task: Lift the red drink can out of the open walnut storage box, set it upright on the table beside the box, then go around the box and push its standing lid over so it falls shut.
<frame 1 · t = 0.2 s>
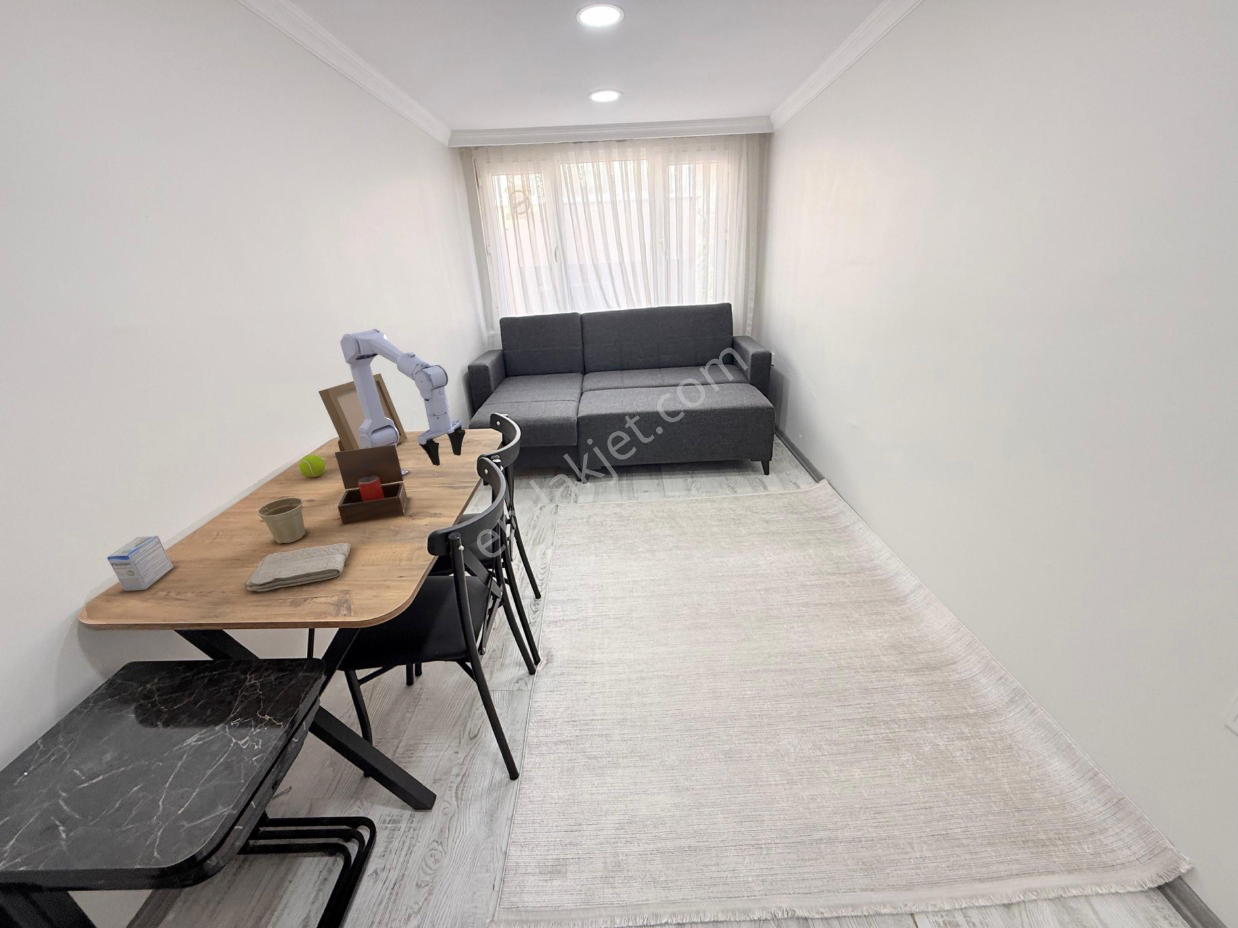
hand: (447, 459, 136), 10 cm above the table, tool pointing down, fingers open, 7 cm apart
can: (376, 508, 131), point 1 cm above the table, touching storage box
tennis ball: (315, 476, 155), on the table
lid: (370, 466, 131), point 11 cm above the table, hinge at 92.0°
storage box: (376, 511, 131), on the table
washcloth: (303, 571, 107), on the table
flower pot: (291, 538, 121), on the table
photo frame: (369, 450, 174), on the table
medicine box: (150, 580, 107), on the table
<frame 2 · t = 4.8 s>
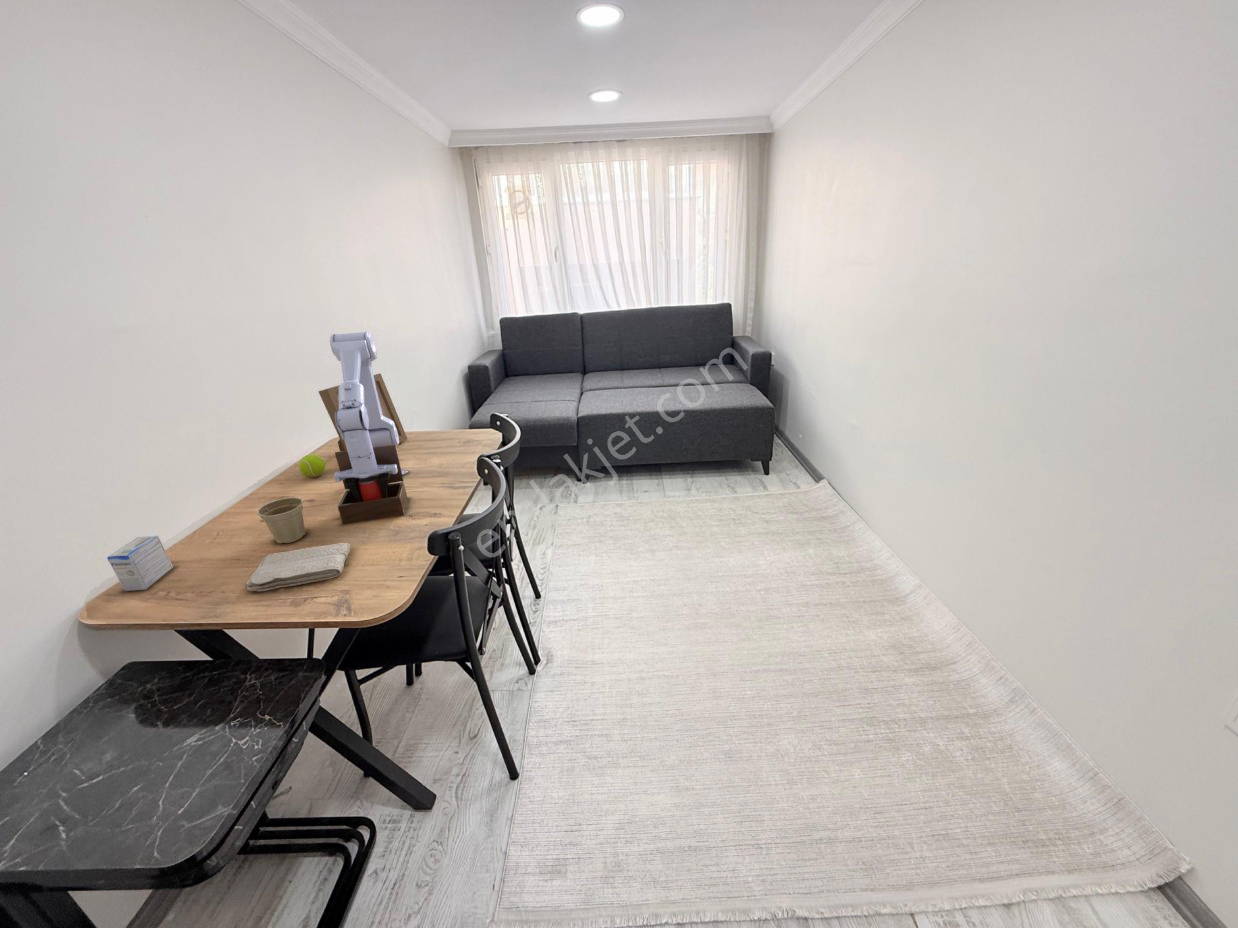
hand: (374, 501, 130), 3 cm above the table, tool pointing down, fingers closed on can, 5 cm apart
can: (376, 508, 131), point 1 cm above the table, touching gripper, storage box
everything else where it was.
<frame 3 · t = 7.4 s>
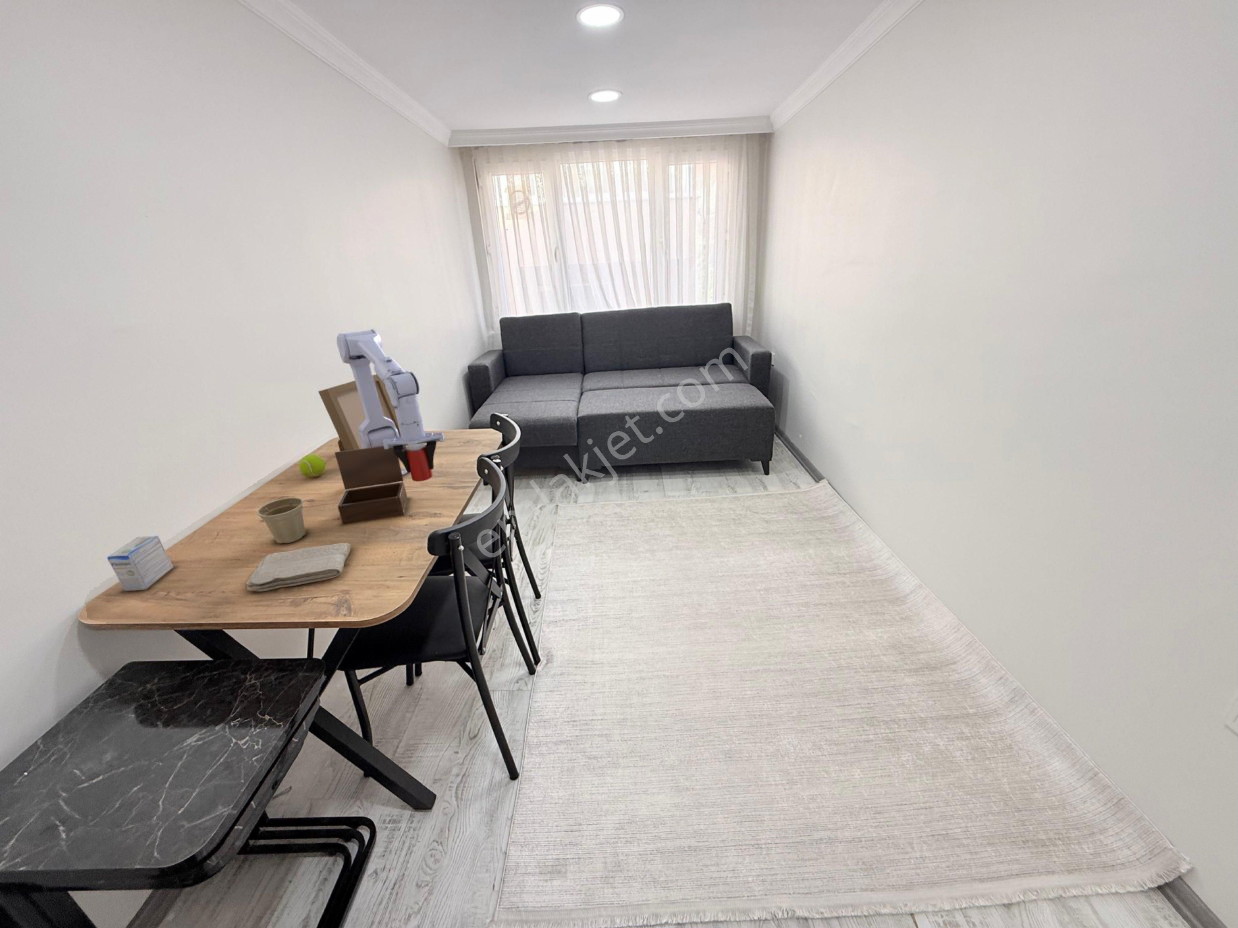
hand: (420, 469, 131), 10 cm above the table, tool pointing down, fingers closed on can, 5 cm apart
can: (422, 477, 132), point 8 cm above the table, touching gripper
everything else where it was.
when the fingers open (2 cm above the table, at t = 10.1 s): can stays where it is, on the table.
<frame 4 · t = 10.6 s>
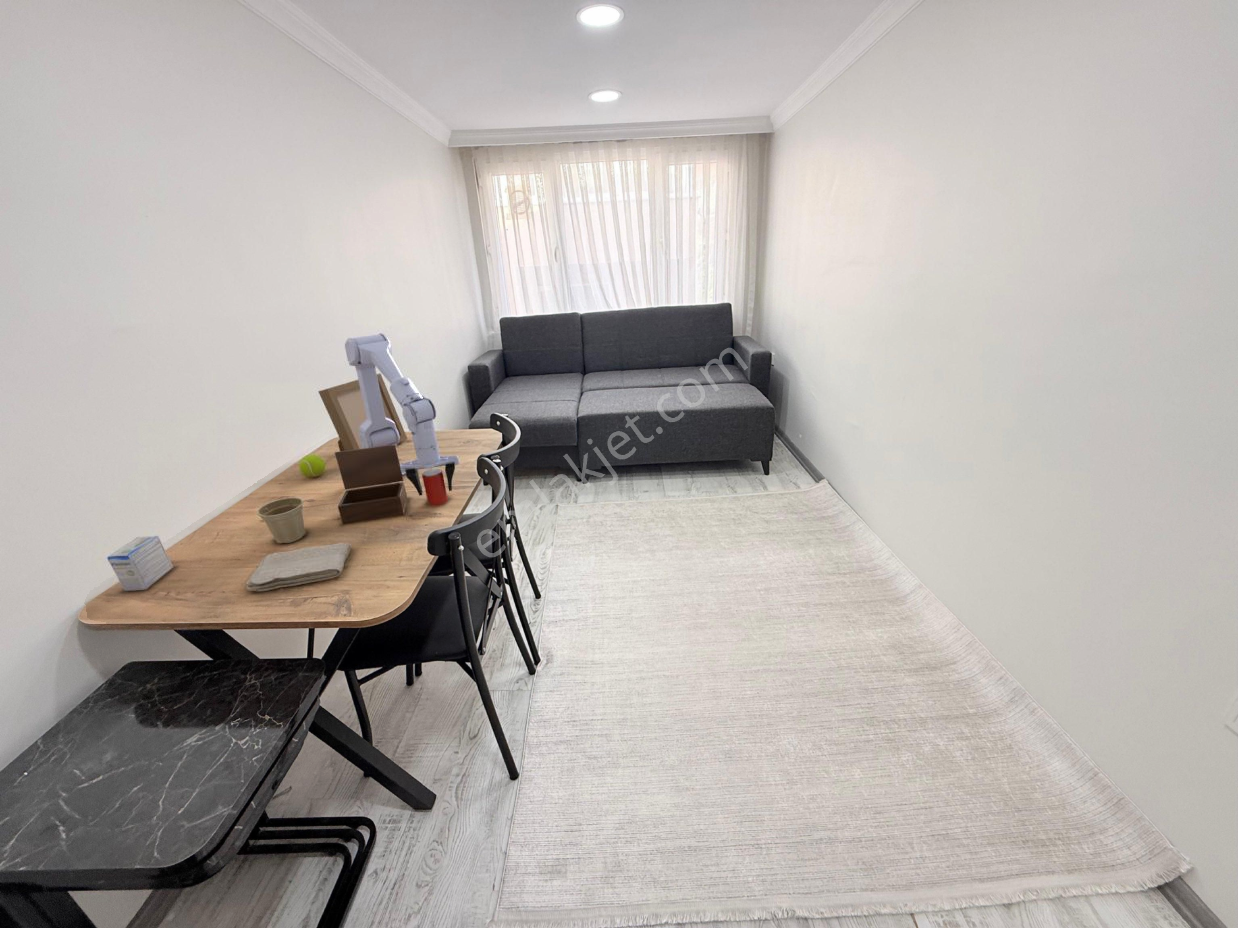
hand: (435, 491, 134), 3 cm above the table, tool pointing down, fingers open, 7 cm apart
can: (438, 501, 135), on the table
everything else where it was.
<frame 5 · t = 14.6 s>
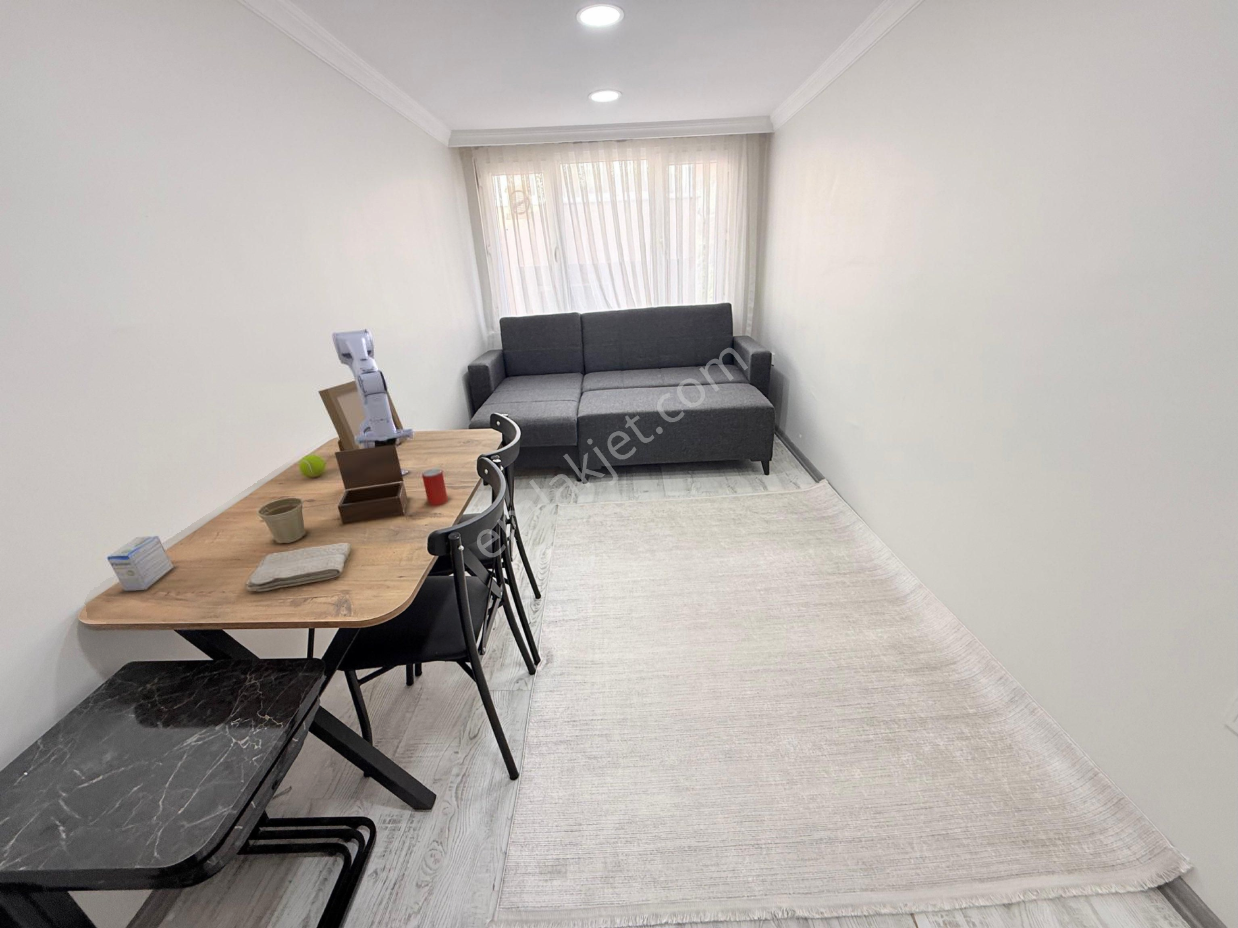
hand: (391, 464, 136), 9 cm above the table, tool pointing down, fingers closed, pressing on lid
lid: (370, 466, 131), point 11 cm above the table, hinge at 92.0°, touching gripper
everything else where it was.
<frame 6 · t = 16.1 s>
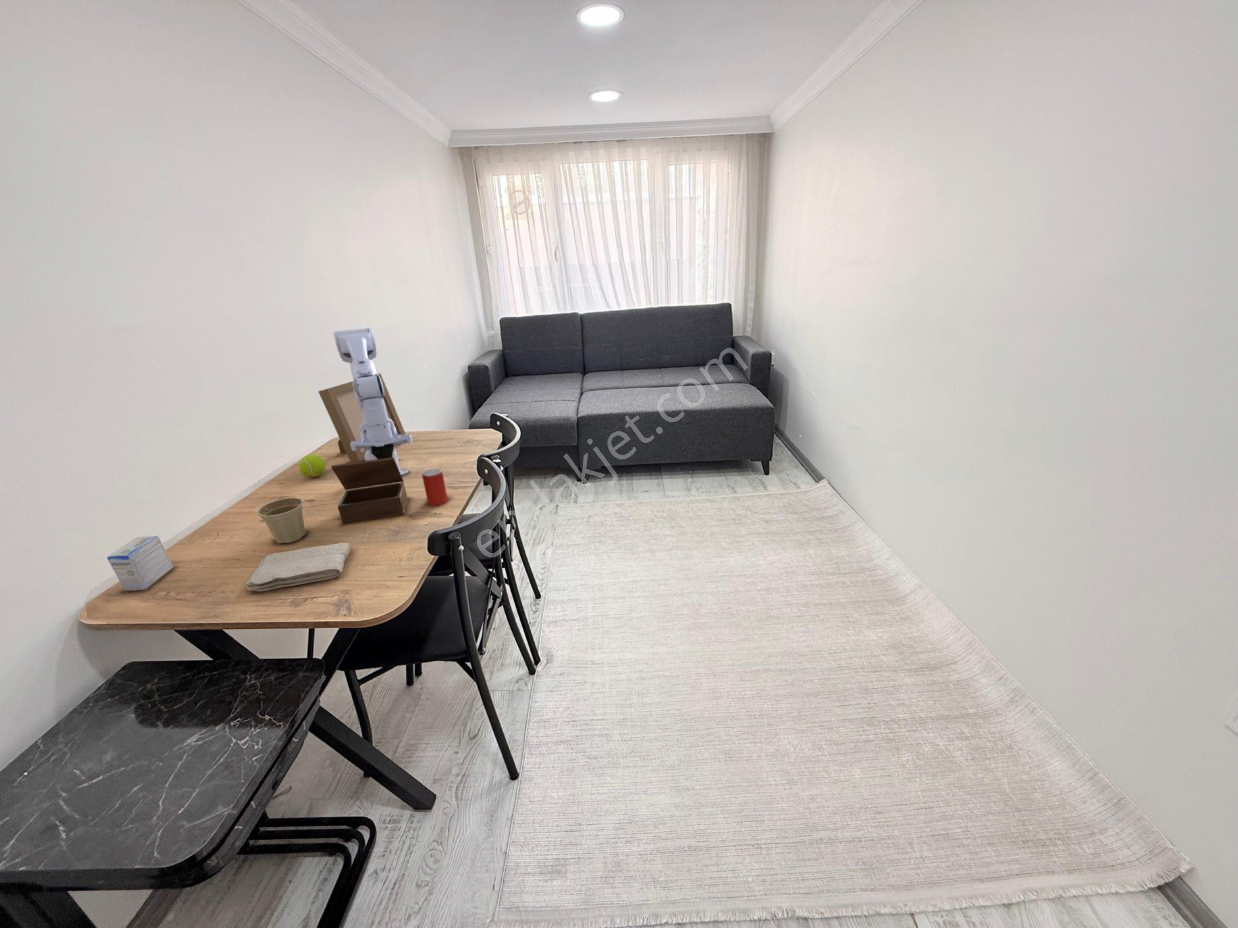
hand: (389, 470, 132), 9 cm above the table, tool pointing down, fingers closed
lid: (369, 473, 129), point 10 cm above the table, hinge at 58.3°
everything else where it was.
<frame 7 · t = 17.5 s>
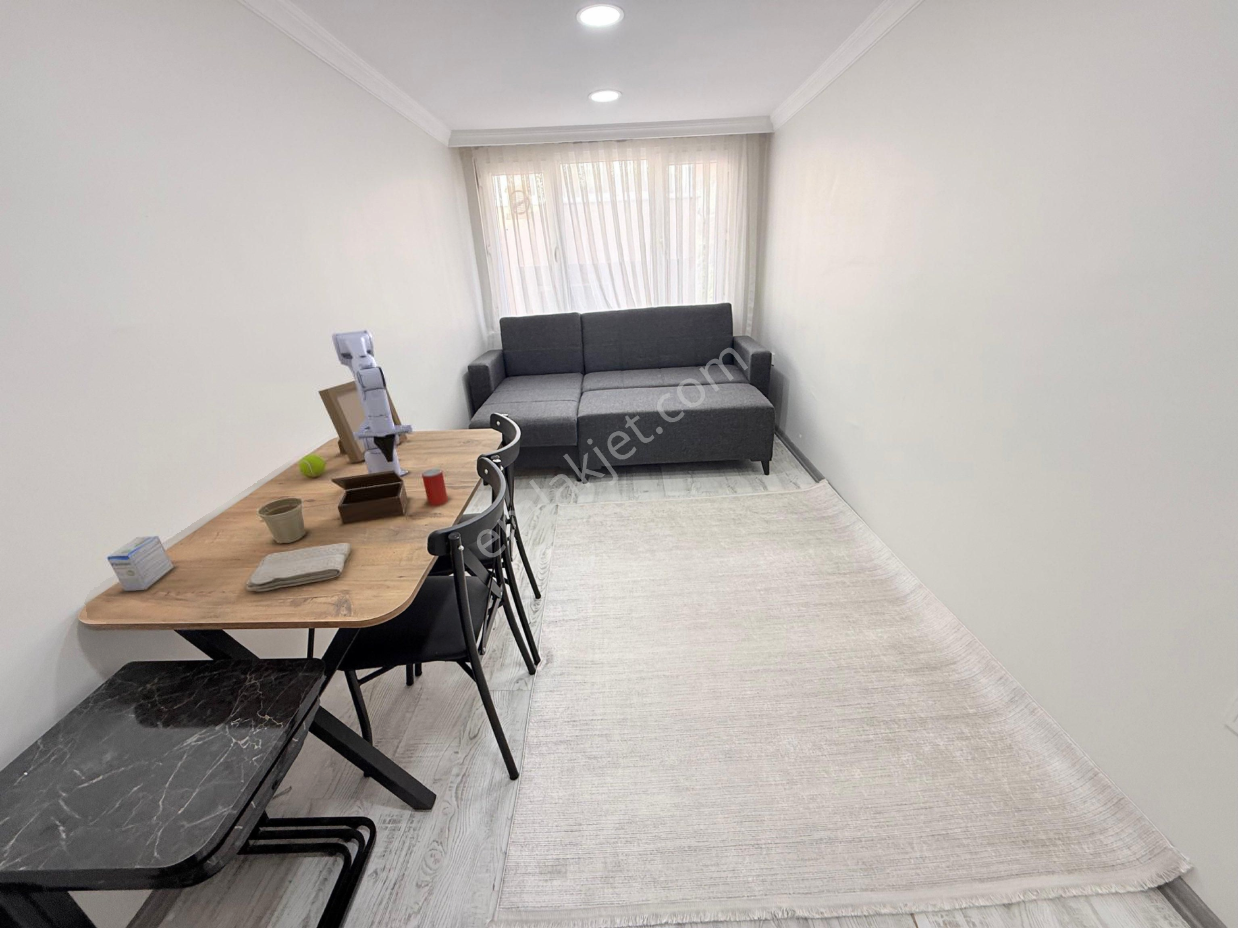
hand: (390, 460, 136), 10 cm above the table, tool pointing down, fingers closed
lid: (369, 480, 128), point 9 cm above the table, hinge at 37.4°
everything else where it was.
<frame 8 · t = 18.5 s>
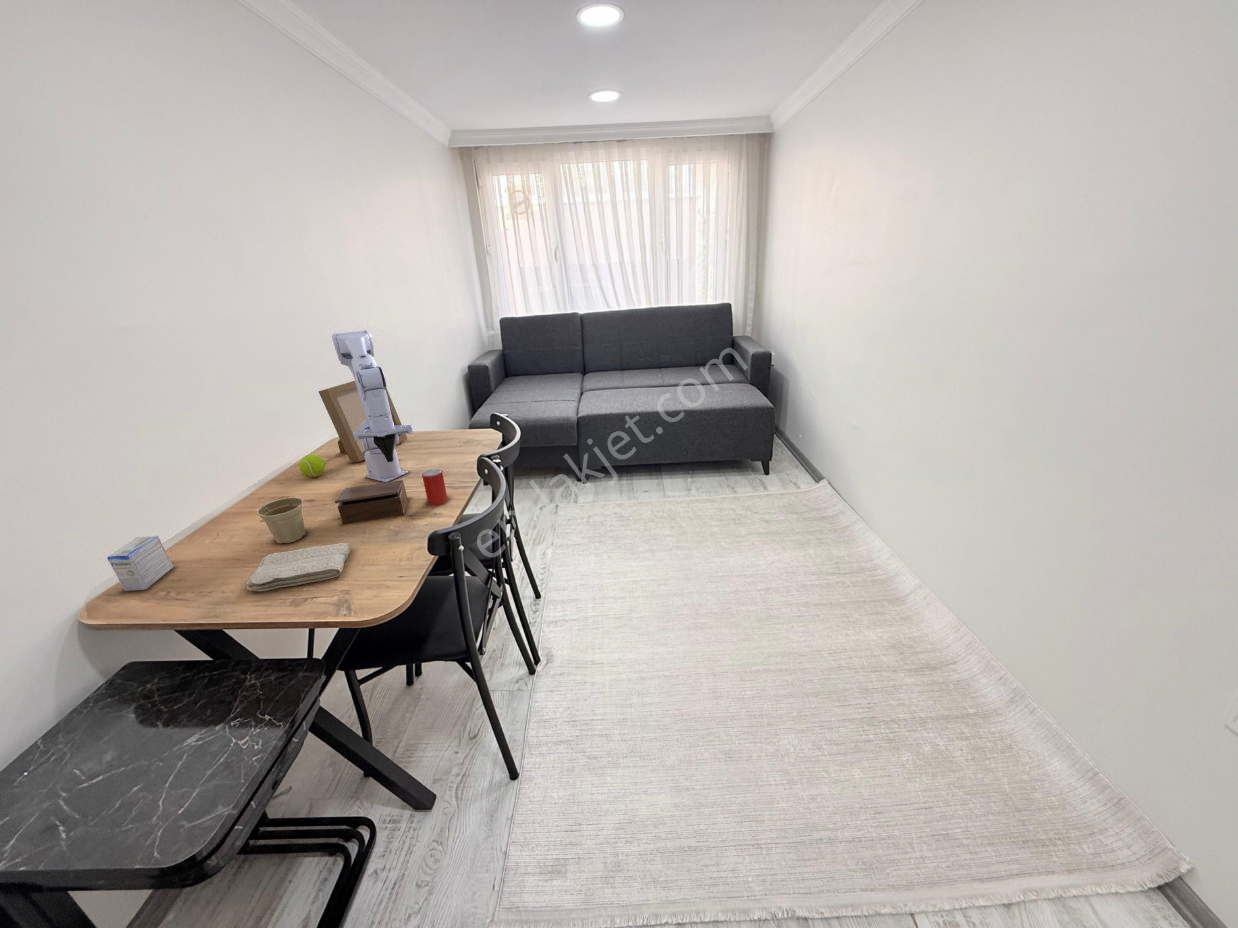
hand: (390, 460, 136), 10 cm above the table, tool pointing down, fingers closed
lid: (370, 490, 128), point 6 cm above the table, hinge at 6.8°
everything else where it was.
at the end: can inside the target area (0.1 cm from its centre), on the table; can tilted 0°; lid at +3° (first picture: +92°) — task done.
